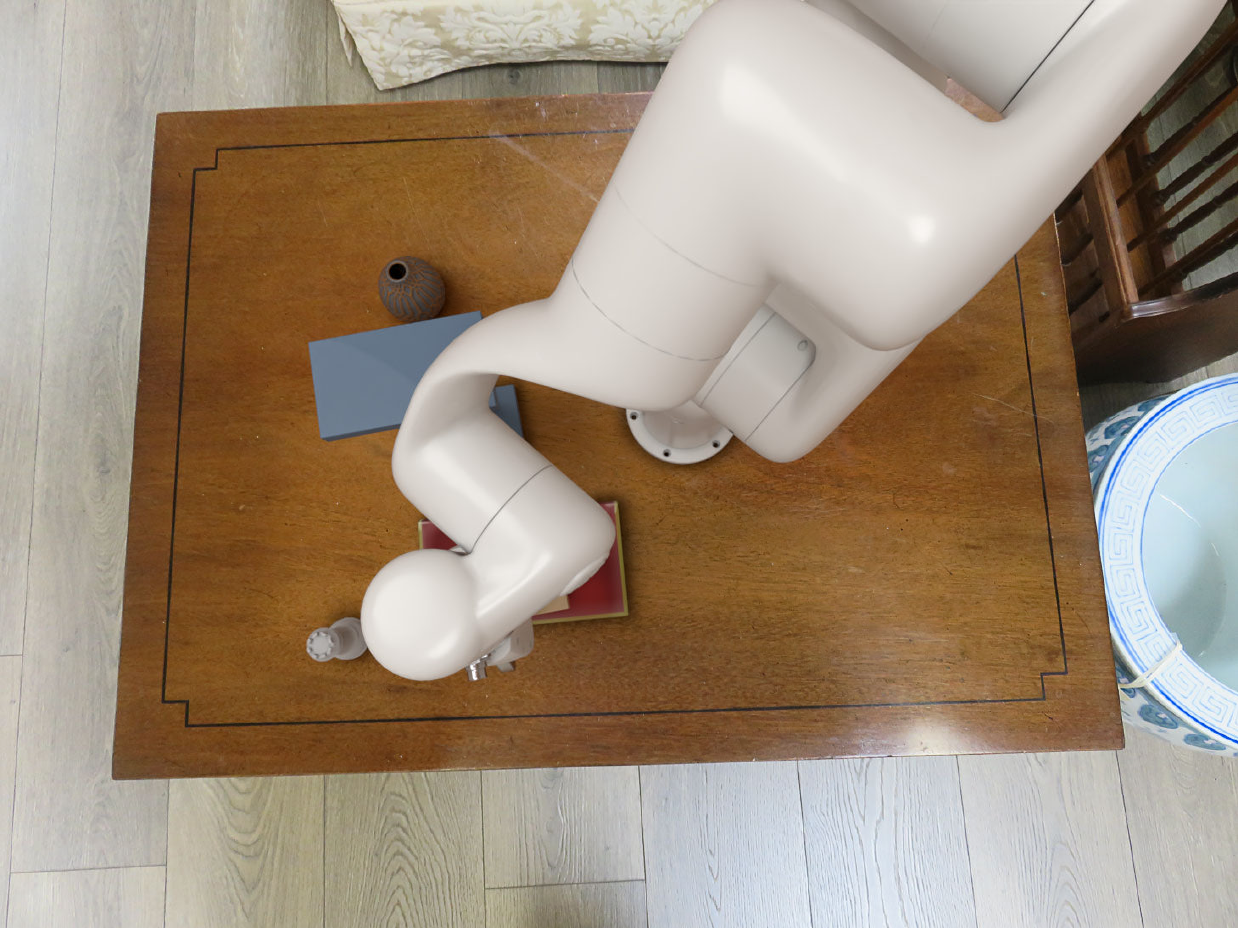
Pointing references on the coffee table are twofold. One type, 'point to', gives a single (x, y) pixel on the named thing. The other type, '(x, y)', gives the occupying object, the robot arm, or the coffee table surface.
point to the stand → (387, 376)
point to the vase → (411, 289)
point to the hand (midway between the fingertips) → (509, 596)
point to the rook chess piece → (337, 641)
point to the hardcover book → (586, 602)
